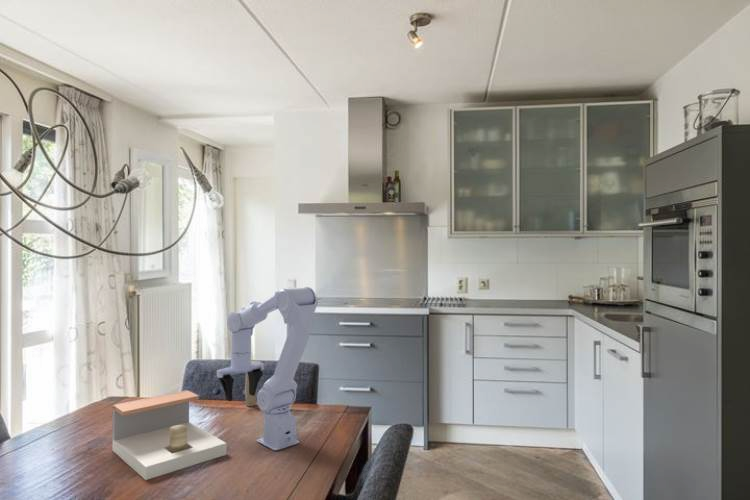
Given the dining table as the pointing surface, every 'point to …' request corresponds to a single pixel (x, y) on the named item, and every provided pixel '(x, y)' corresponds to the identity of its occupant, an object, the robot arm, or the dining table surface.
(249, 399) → the handle
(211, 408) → the dining table surface
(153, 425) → the station
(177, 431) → the peg
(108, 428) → the dining table surface
